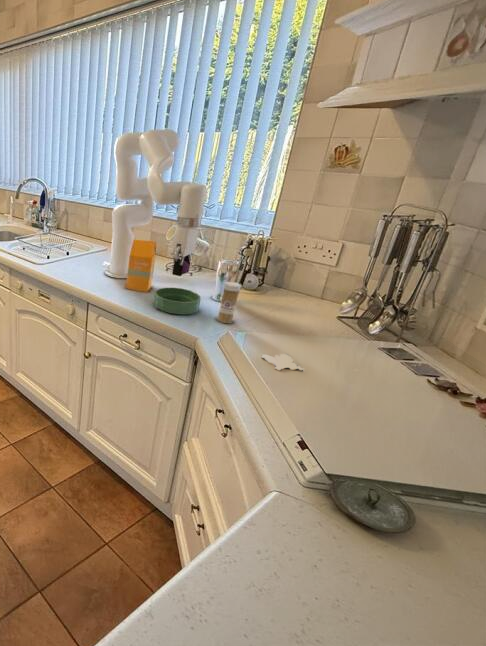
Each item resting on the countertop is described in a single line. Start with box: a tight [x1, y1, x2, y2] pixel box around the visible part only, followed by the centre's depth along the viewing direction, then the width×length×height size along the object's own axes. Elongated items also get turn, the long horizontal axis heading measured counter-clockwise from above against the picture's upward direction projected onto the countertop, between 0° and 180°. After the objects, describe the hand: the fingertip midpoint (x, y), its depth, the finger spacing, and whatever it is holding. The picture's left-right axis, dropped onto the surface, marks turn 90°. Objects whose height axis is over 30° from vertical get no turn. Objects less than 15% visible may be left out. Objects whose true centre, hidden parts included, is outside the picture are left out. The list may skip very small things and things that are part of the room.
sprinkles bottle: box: [217, 281, 242, 324], centre depth 131 cm, size 5×5×14 cm
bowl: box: [153, 287, 202, 315], centre depth 144 cm, size 15×15×5 cm
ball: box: [182, 261, 190, 275], centre depth 139 cm, size 5×5×5 cm
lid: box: [329, 479, 417, 534], centre depth 65 cm, size 11×10×5 cm
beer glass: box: [212, 258, 240, 303], centre depth 149 cm, size 7×7×15 cm
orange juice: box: [125, 239, 157, 293], centre depth 161 cm, size 8×9×20 cm
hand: (180, 272), depth 140 cm, fingers closed on ball, 4 cm apart
